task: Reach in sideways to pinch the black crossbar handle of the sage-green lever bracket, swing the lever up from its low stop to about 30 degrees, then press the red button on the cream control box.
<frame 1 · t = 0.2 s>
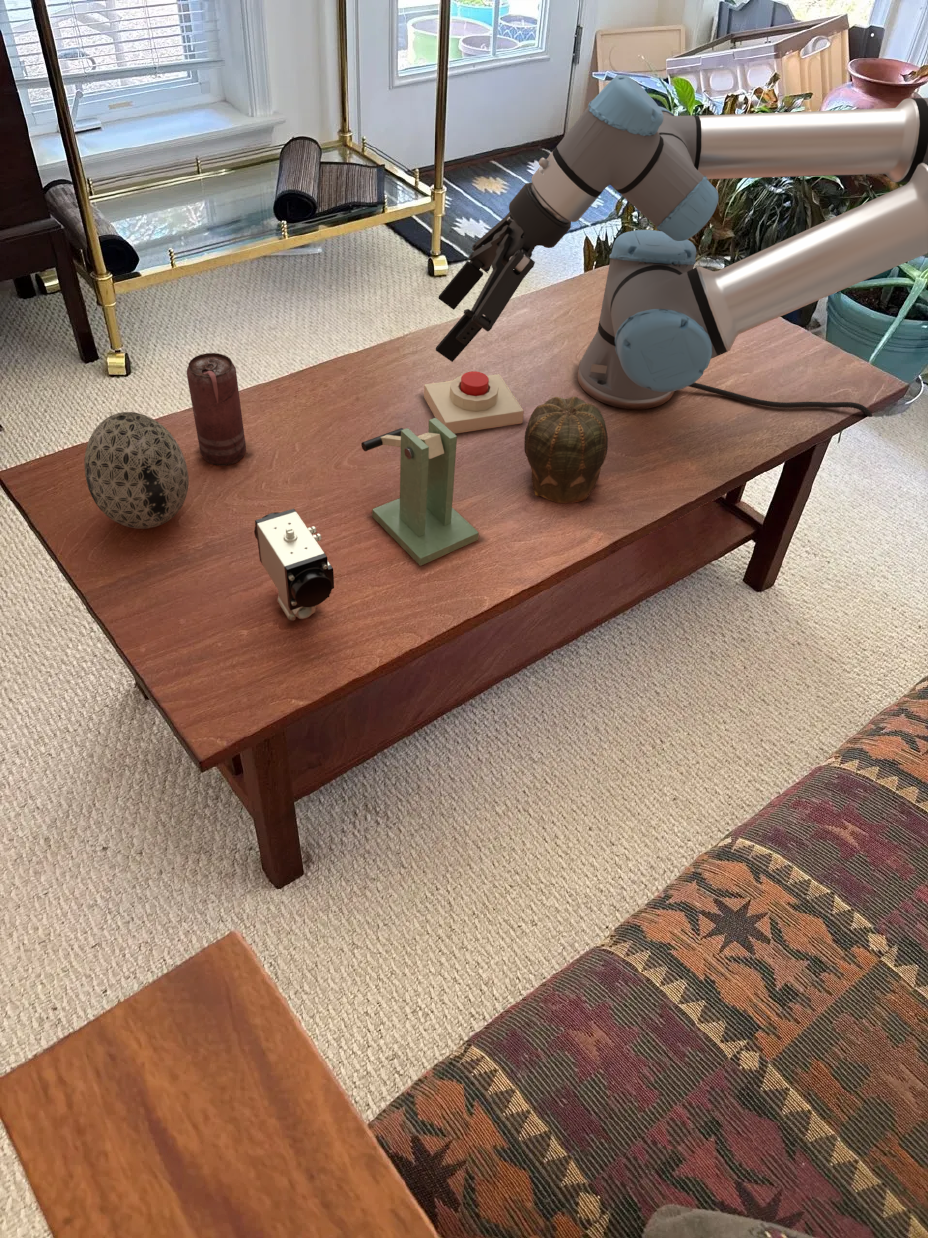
hand: (445, 328, 127), 15 cm above the table, tool tilted 35°, fingers open, 13 cm apart
can: (224, 455, 130), on the table
dark green ribbed dome: (558, 483, 130), on the table
button: (474, 383, 137), point 4 cm above the table, slide at 0.1 cm
pneumatic valve: (300, 607, 111), on the table
control box: (472, 409, 141), on the table
decorative egg: (148, 519, 120), on the table
lever: (406, 442, 116), point 11 cm above the table, hinge at -28.0°
bracket: (424, 528, 122), on the table
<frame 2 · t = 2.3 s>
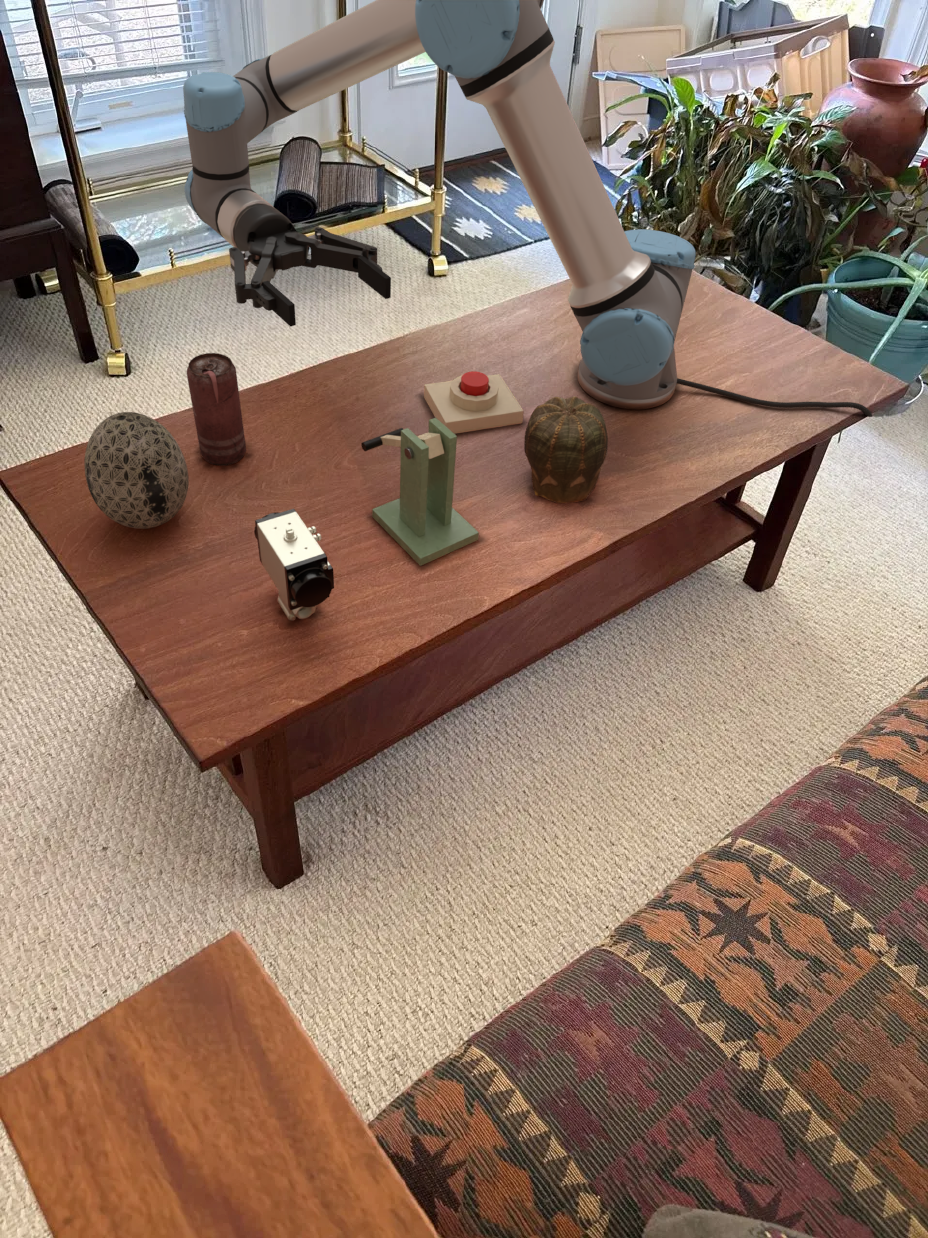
hand: (341, 301, 116), 22 cm above the table, tool horizontal, fingers open, 13 cm apart
nothing on the table moved.
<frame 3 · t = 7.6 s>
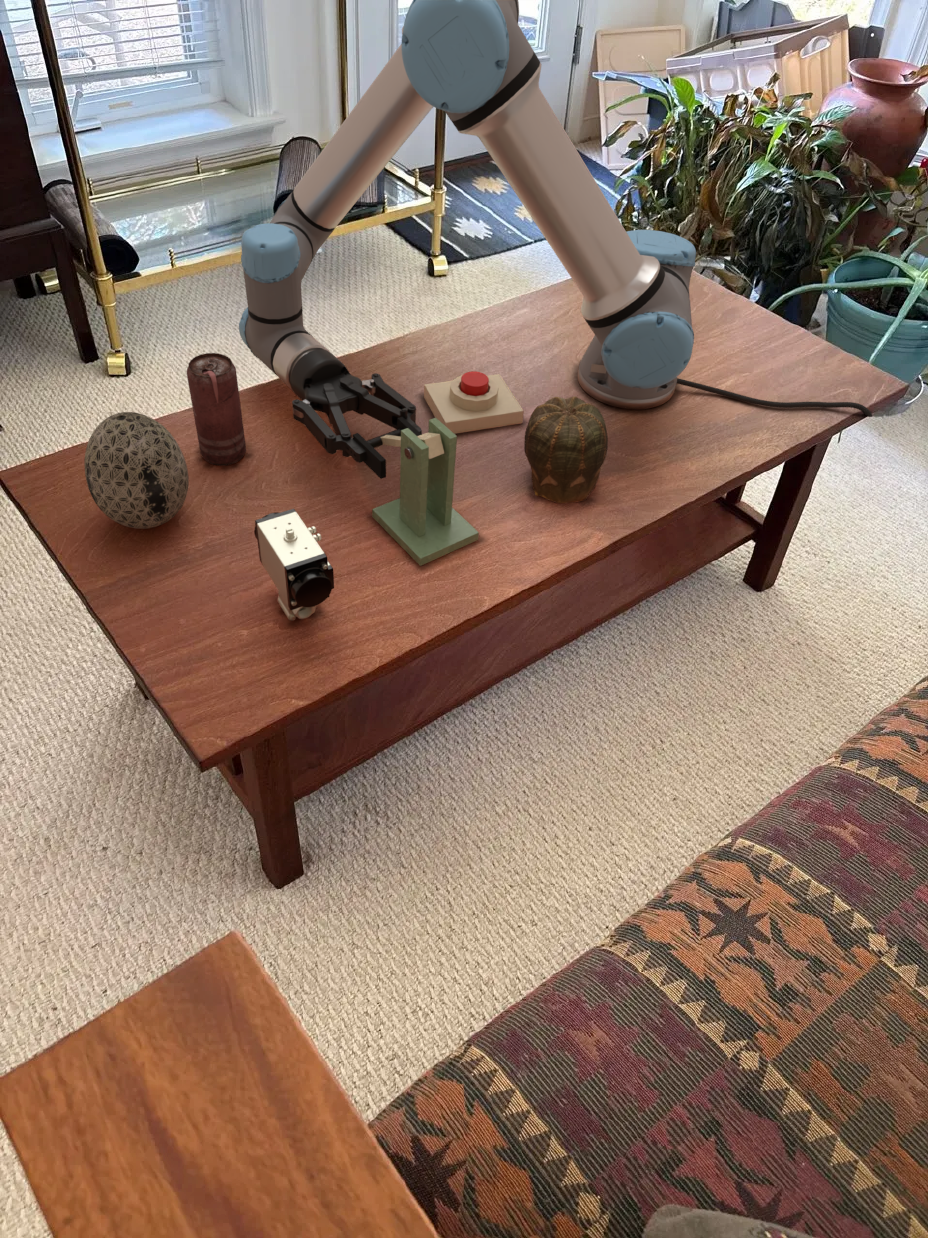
hand: (405, 460, 119), 8 cm above the table, tool horizontal, fingers closed on lever, 6 cm apart
lever: (406, 442, 116), point 11 cm above the table, hinge at -28.0°, touching gripper
everything else where it was.
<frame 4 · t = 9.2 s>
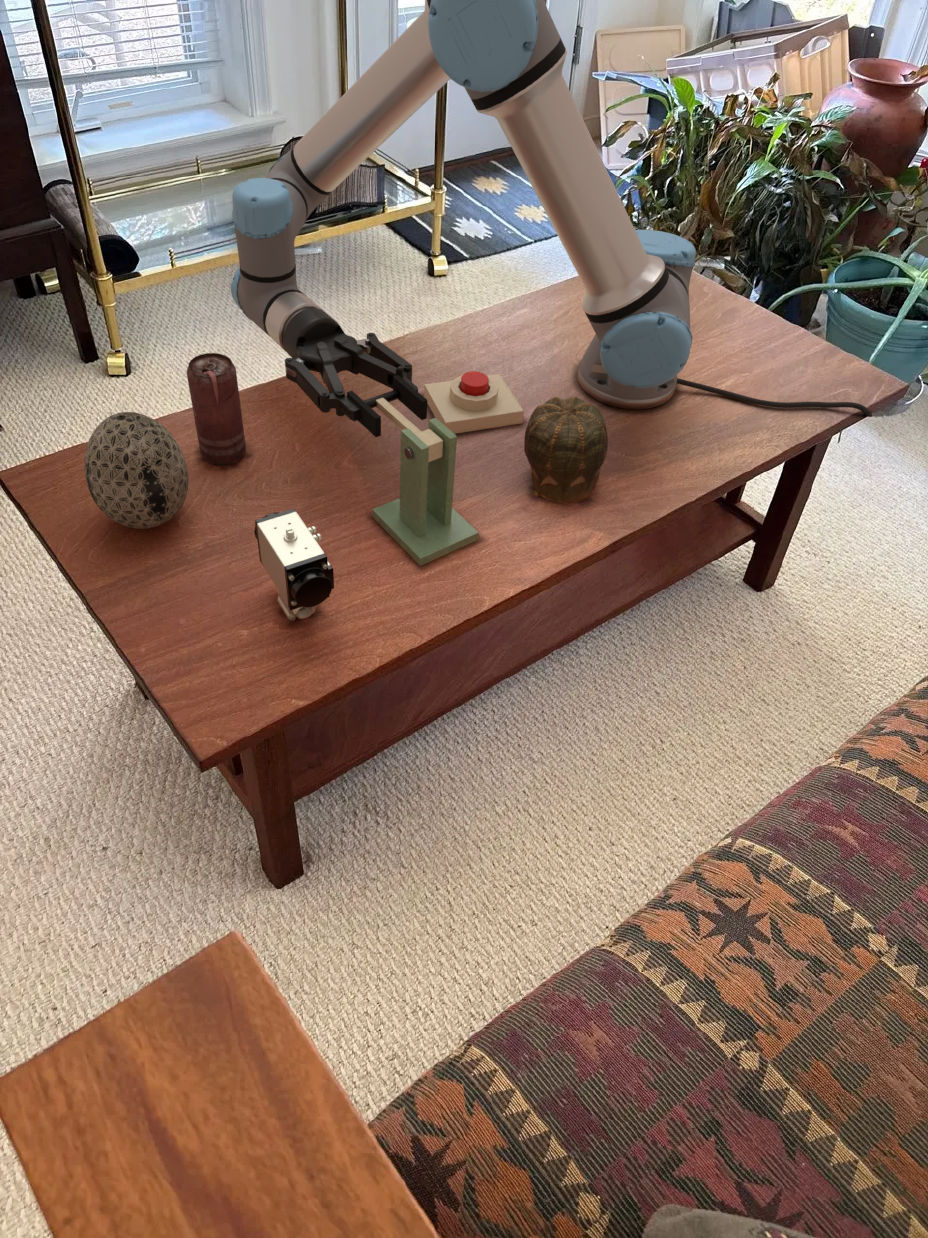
hand: (401, 418, 115), 13 cm above the table, tool horizontal, fingers closed on lever, 6 cm apart
lever: (404, 424, 115), point 13 cm above the table, hinge at -0.5°, touching gripper
everything else where it was.
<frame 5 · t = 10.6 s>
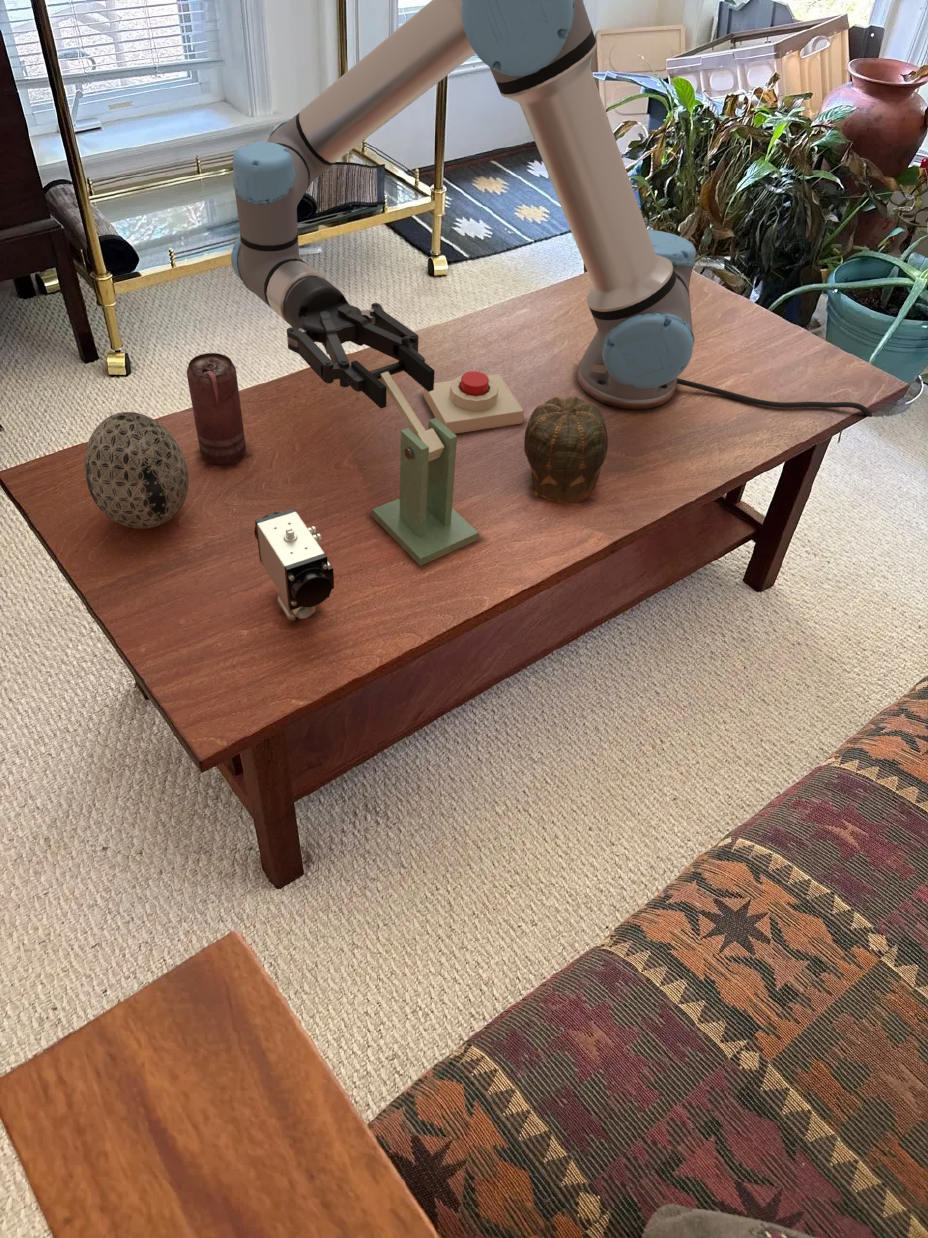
hand: (407, 389, 111), 18 cm above the table, tool horizontal, fingers closed on lever, 6 cm apart
lever: (406, 411, 113), point 15 cm above the table, hinge at 23.7°, touching gripper
everything else where it was.
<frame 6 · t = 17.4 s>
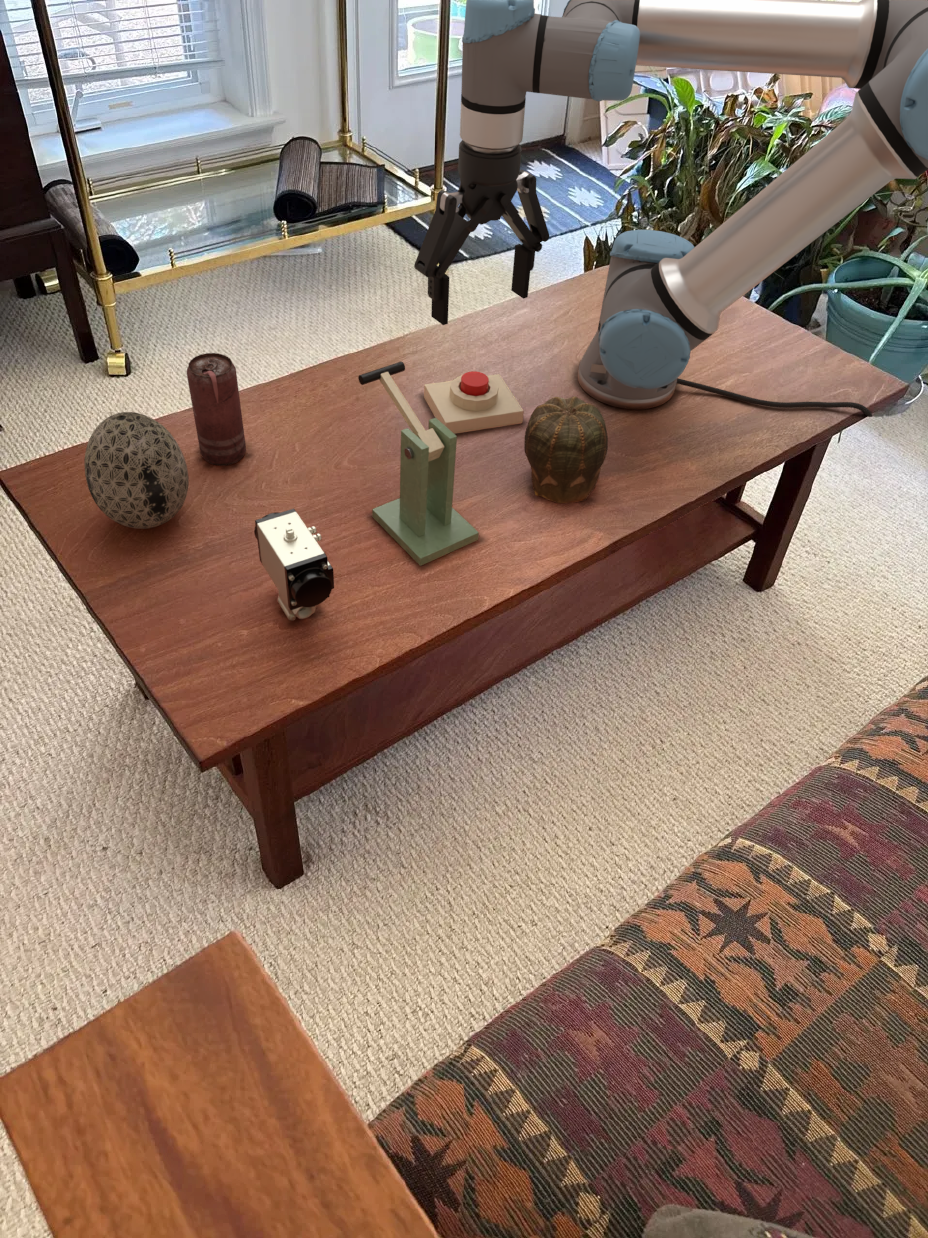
hand: (480, 306, 128), 17 cm above the table, tool pointing down, fingers open, 13 cm apart
lever: (406, 411, 113), point 15 cm above the table, hinge at 23.4°
everything else where it was.
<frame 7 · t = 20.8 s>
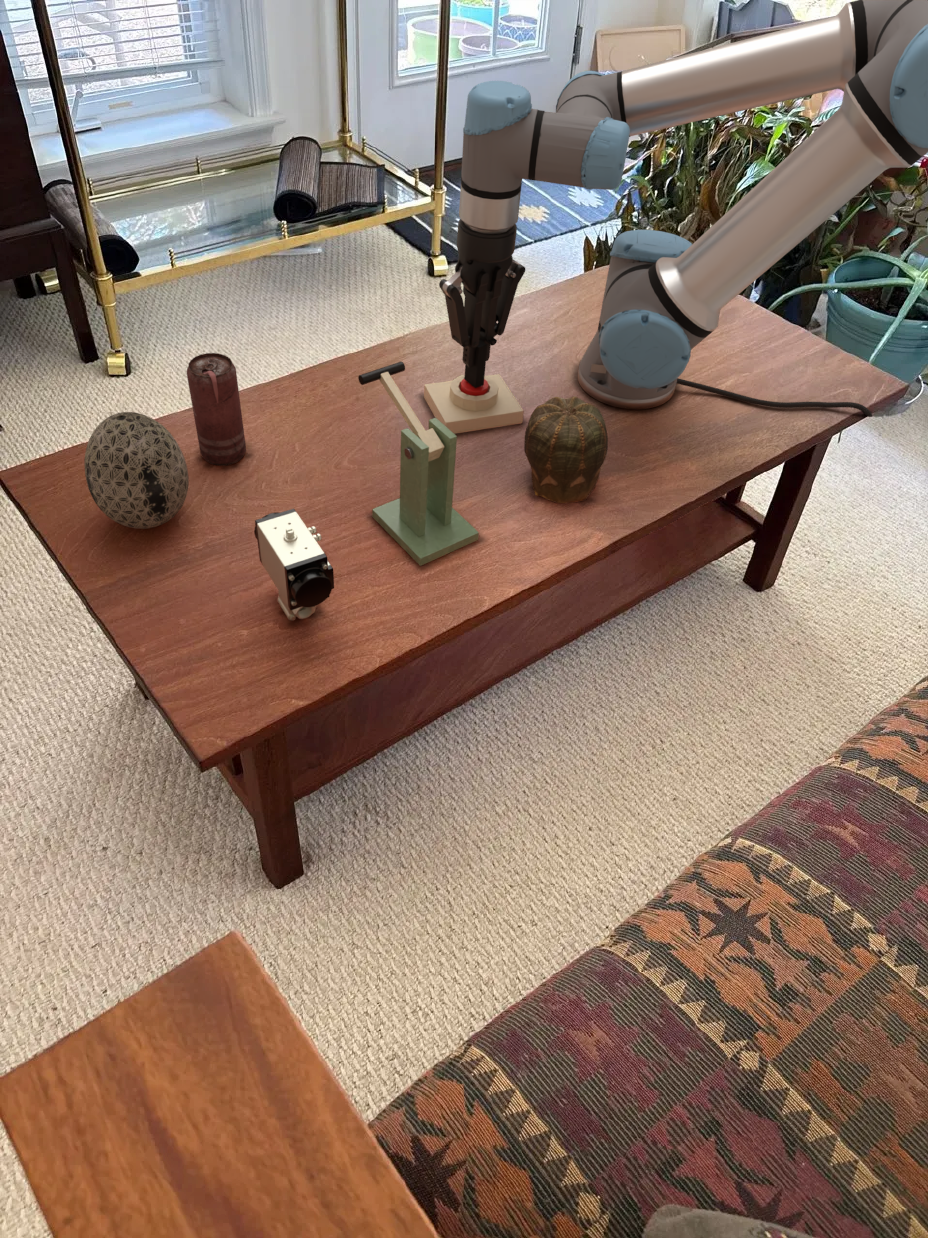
hand: (473, 381, 137), 5 cm above the table, tool pointing down, fingers closed
button: (474, 388, 138), point 4 cm above the table, slide at -0.7 cm, touching gripper
everything else where it was.
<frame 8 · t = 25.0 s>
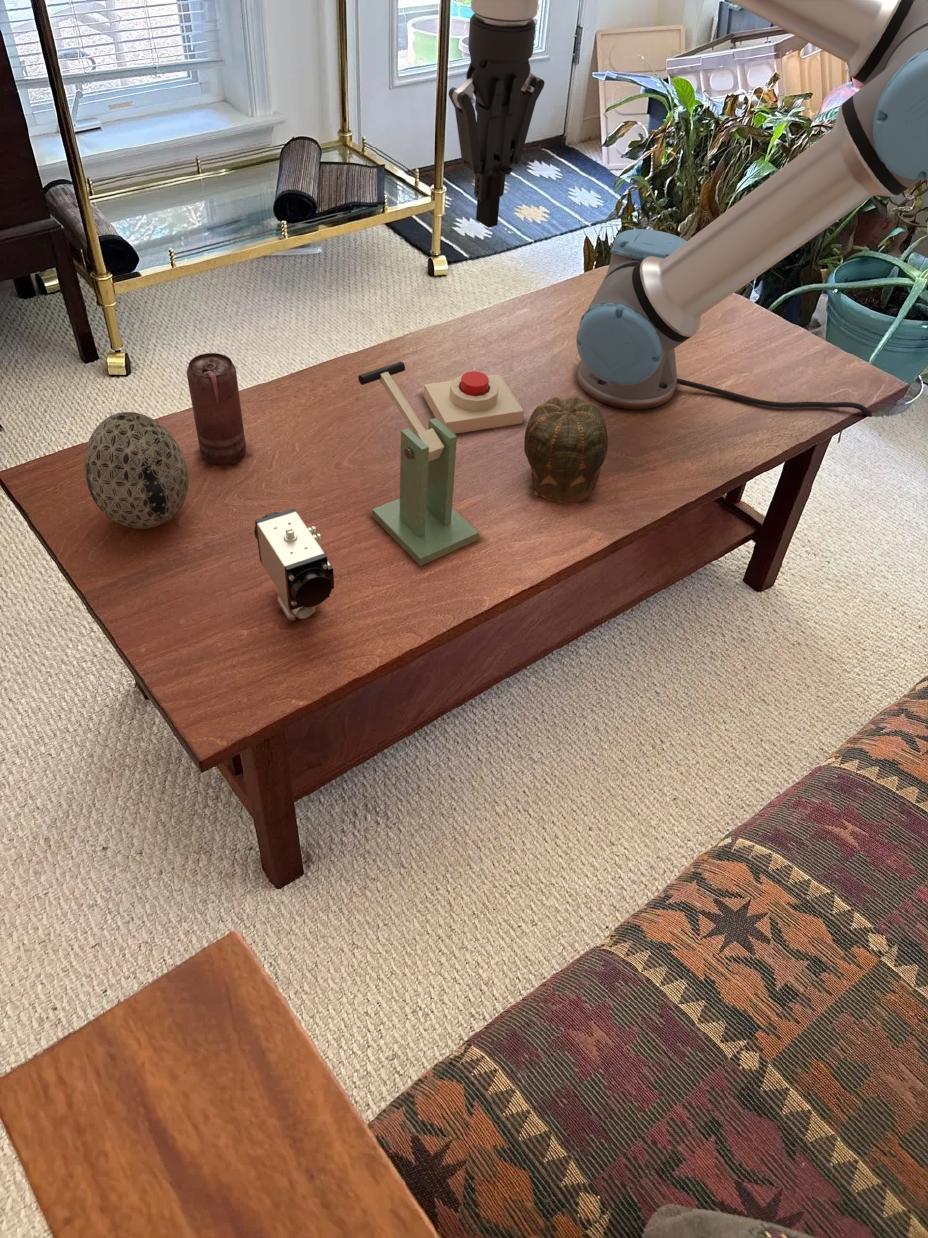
hand: (486, 222, 124), 26 cm above the table, tool pointing down, fingers closed
button: (474, 383, 137), point 4 cm above the table, slide at 0.1 cm
everything else where it was.
at the end: lever at +23° (first picture: -28°); button pushed in 1.0 cm at the most during the clip, back to where it started at the end; button slide at 0.1 cm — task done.
